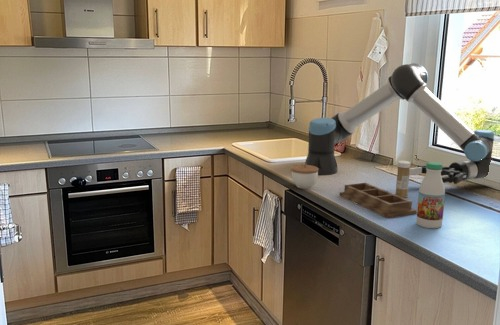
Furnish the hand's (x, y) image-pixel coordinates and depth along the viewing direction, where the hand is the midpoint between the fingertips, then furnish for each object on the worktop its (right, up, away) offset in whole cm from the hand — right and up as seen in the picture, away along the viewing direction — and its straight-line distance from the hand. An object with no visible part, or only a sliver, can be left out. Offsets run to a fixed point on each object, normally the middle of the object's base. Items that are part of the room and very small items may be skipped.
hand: (420, 176), depth 188 cm
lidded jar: (-43, -5, +11) cm, 45 cm away
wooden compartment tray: (-20, -10, -11) cm, 25 cm away
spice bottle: (-8, -8, -1) cm, 11 cm away
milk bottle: (-8, -15, -31) cm, 36 cm away
